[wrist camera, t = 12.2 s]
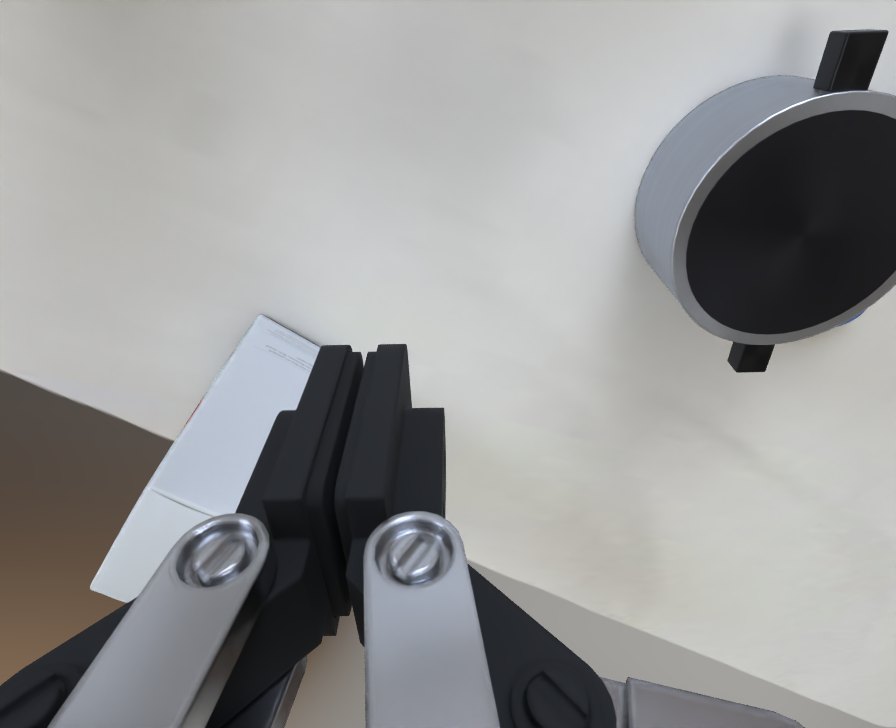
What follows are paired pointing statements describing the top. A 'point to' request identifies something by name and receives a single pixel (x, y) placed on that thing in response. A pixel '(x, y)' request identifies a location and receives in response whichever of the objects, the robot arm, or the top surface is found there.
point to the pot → (778, 203)
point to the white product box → (210, 454)
